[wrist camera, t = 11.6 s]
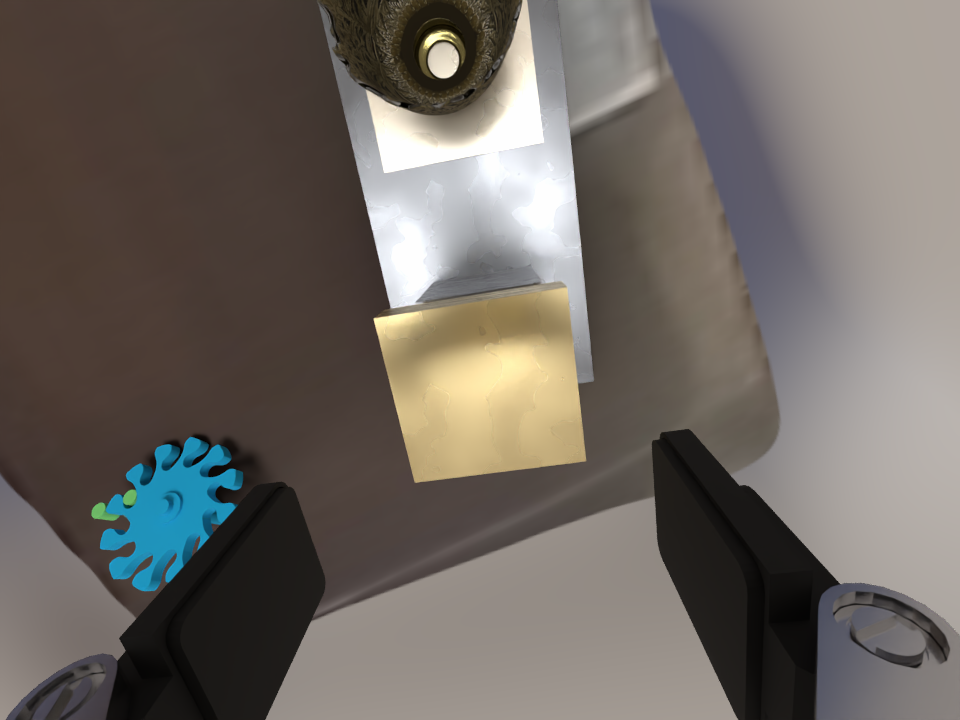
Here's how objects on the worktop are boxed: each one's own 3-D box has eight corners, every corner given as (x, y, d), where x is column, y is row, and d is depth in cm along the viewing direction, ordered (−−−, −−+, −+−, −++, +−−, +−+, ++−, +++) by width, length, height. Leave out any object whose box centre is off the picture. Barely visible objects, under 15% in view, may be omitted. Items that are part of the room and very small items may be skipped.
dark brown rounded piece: (356, -8, 22) (284, -120, 15) (501, -44, 22) (502, -180, 14) (392, 152, 25) (345, 125, 17) (524, 124, 24) (535, 84, 16)
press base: (313, -54, 23) (223, -182, 16) (541, -110, 22) (563, -277, 14) (418, 397, 31) (392, 457, 24) (589, 373, 30) (619, 427, 23)
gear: (251, 437, 31) (199, 599, 27) (295, 458, 36) (258, 596, 32) (119, 431, 33) (51, 580, 29) (179, 452, 38) (129, 580, 34)
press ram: (413, 283, 24) (373, 318, 16) (544, 262, 23) (566, 287, 15) (439, 402, 26) (415, 482, 18) (559, 385, 25) (586, 461, 18)
